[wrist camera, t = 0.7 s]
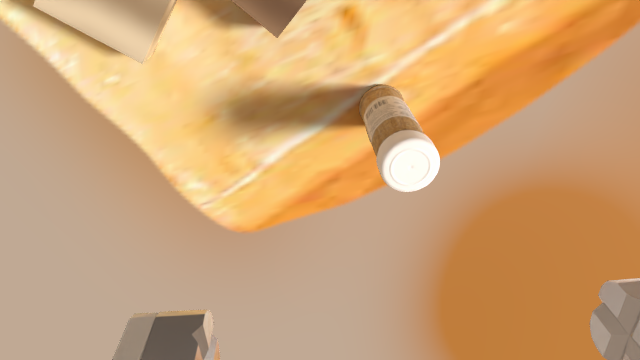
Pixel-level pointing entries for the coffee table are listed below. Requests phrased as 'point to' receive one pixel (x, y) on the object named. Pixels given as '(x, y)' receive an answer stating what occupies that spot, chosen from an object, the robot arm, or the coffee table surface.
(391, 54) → the coffee table surface
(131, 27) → the oak block
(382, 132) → the sprinkles bottle
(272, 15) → the walnut cube
